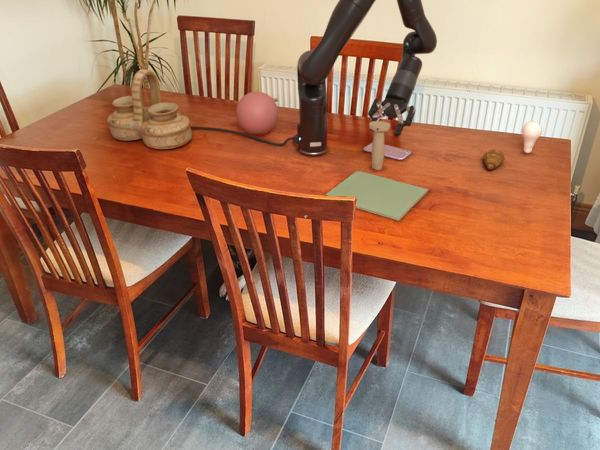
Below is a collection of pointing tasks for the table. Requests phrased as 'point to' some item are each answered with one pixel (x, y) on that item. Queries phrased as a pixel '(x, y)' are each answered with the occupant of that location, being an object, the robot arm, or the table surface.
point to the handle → (378, 142)
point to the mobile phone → (391, 151)
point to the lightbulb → (530, 135)
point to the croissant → (493, 159)
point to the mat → (379, 194)
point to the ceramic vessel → (149, 117)
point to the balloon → (257, 113)
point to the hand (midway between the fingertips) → (383, 133)
